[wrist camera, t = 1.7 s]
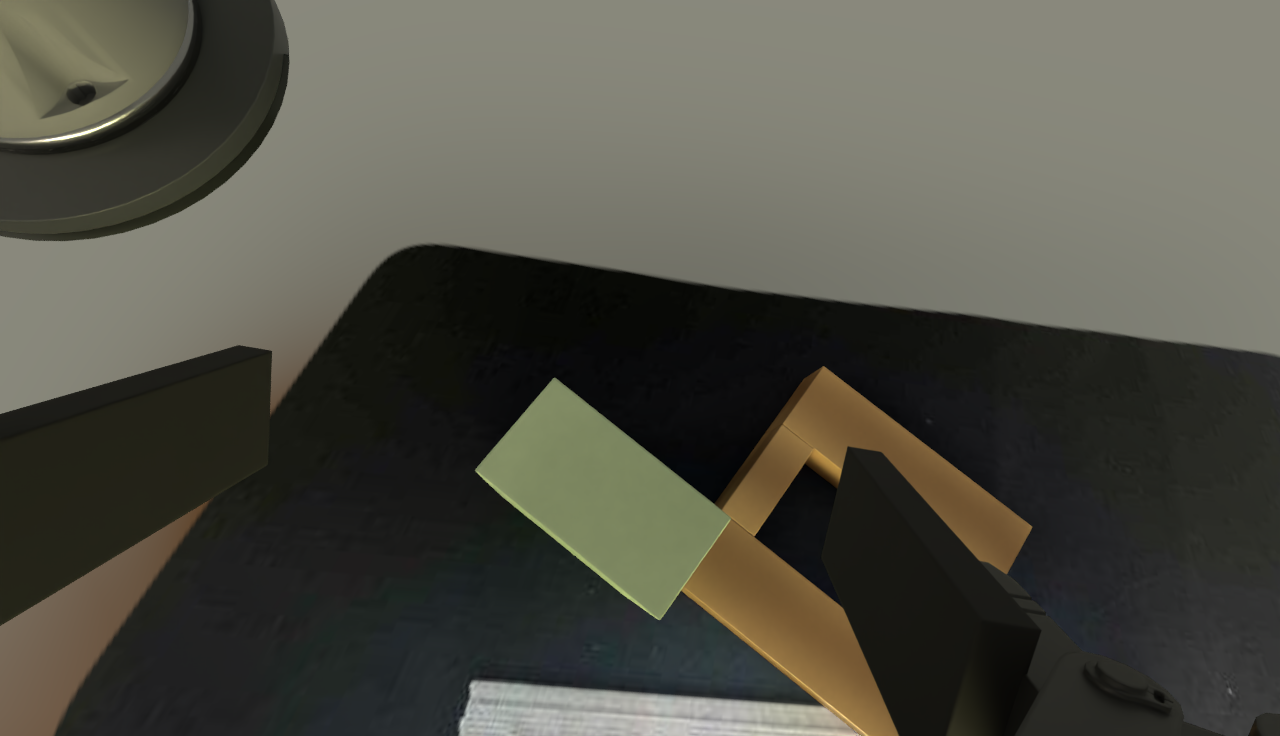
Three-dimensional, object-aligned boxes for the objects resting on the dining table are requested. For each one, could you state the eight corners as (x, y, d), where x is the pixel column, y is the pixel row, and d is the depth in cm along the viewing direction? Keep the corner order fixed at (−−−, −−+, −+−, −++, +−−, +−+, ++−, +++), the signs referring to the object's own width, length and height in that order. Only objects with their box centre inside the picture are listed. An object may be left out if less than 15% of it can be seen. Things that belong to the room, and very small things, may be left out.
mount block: (874, 746, 35) (903, 764, 32) (662, 575, 36) (672, 578, 33) (997, 528, 39) (1033, 526, 36) (804, 378, 39) (823, 365, 37)
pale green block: (624, 595, 35) (660, 621, 24) (499, 494, 36) (474, 470, 24) (675, 526, 36) (732, 518, 25) (553, 429, 37) (554, 376, 25)
